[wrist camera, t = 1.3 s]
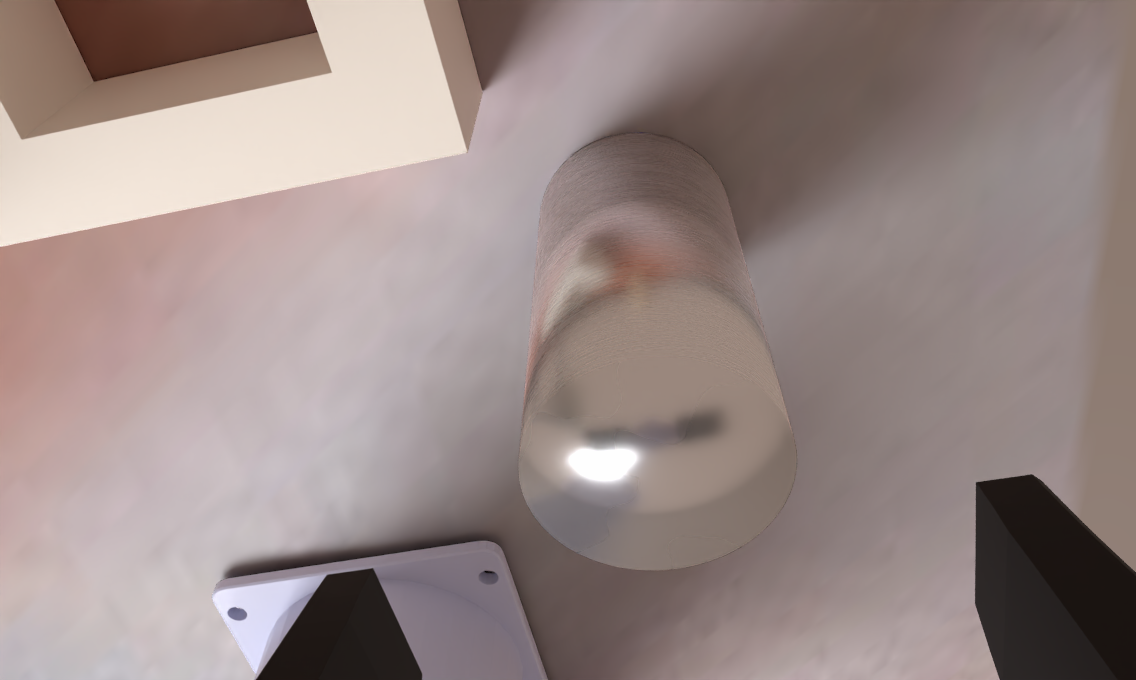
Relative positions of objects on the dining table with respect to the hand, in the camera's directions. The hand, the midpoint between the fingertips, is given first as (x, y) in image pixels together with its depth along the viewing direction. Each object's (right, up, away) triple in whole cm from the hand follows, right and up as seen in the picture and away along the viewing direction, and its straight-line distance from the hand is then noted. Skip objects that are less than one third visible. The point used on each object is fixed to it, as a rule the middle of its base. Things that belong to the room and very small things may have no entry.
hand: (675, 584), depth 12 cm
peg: (0, +5, +9) cm, 11 cm away
